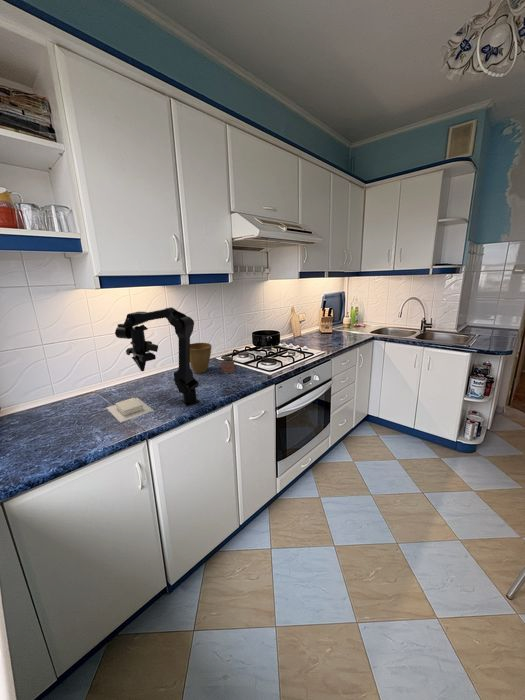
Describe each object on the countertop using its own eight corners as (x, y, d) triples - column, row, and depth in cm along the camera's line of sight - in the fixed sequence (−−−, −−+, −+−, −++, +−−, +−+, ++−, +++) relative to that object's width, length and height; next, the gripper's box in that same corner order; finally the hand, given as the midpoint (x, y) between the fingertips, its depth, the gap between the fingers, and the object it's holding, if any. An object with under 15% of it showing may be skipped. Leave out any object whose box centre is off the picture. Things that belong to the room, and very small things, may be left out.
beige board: (154, 411, 126) (153, 410, 126) (120, 423, 117) (120, 422, 117) (137, 398, 138) (137, 397, 138) (106, 408, 129) (105, 407, 129)
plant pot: (197, 377, 164) (195, 350, 159) (183, 371, 174) (180, 346, 169) (218, 370, 174) (216, 345, 170) (203, 365, 184) (201, 341, 180)
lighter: (235, 371, 172) (234, 355, 169) (234, 373, 169) (233, 357, 166) (222, 371, 173) (221, 355, 170) (220, 373, 170) (219, 357, 167)
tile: (134, 402, 133) (143, 409, 126) (116, 408, 128) (124, 416, 121) (133, 397, 133) (142, 404, 126) (115, 403, 127) (123, 410, 120)
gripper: (164, 339, 133) (168, 371, 138) (146, 333, 146) (149, 362, 150) (140, 344, 125) (145, 377, 130) (123, 337, 138) (128, 368, 142)
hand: (142, 371), depth 138 cm, fingers closed
